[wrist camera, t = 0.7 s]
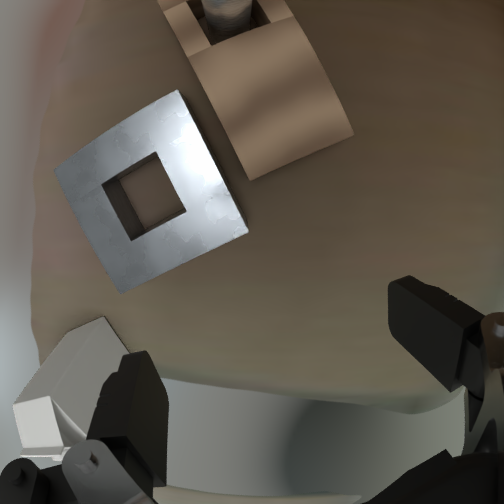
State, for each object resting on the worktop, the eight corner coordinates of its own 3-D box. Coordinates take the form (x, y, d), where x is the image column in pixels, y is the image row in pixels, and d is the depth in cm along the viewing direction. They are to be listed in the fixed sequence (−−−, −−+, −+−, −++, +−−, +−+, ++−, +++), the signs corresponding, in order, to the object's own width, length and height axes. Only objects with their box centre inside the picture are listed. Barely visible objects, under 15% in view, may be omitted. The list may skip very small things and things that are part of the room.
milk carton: (67, 331, 35) (-6, 430, 17) (104, 314, 34) (30, 426, 16) (97, 372, 37) (45, 477, 19) (135, 359, 37) (88, 479, 18)
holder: (74, 166, 29) (53, 169, 25) (185, 98, 28) (177, 89, 23) (133, 277, 33) (120, 294, 29) (247, 221, 32) (248, 231, 28)
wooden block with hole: (165, 16, 25) (154, -4, 20) (252, -19, 24) (255, -42, 19) (248, 176, 30) (250, 181, 26) (337, 137, 30) (354, 135, 25)
